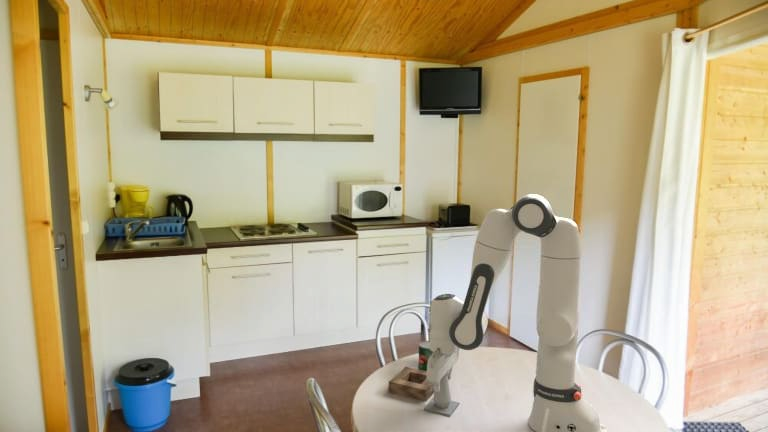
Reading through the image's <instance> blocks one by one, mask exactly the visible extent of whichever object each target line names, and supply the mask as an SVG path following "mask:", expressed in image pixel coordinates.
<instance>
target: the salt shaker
mask: <svg viewBox="0 0 768 432" xmlns="http://www.w3.org/2000/svg"><path fill="white" fill-rule="evenodd" d="M449 373H450V369H448V370H447V373H446V374H445V375H444V376H443V377H442V378H441V380H440V382H439V383H440V385H441V390H440V391H439V392H436V391H435V392H434V393H433V397H432V398H433V400H434V402H435V405H436V406H437V407H438V408H446V407H448V406H449V404H450V402H451V401H452V395H451V387H450V384H449V380H448V375H449Z"/></svg>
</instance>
